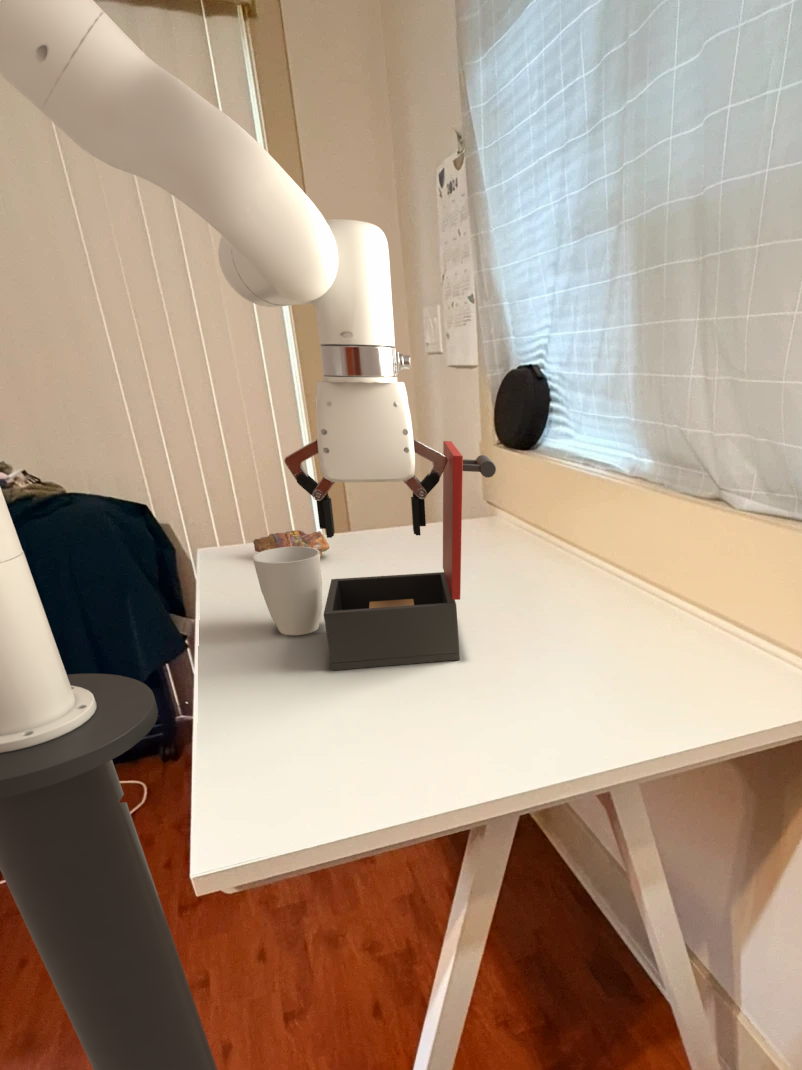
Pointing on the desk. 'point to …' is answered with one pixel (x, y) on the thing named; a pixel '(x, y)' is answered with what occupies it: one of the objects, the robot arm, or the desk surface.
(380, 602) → the wooden block
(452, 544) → the lid
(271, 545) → the mineral specimen
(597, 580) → the desk surface
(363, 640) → the dark tray bin
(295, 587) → the cup
